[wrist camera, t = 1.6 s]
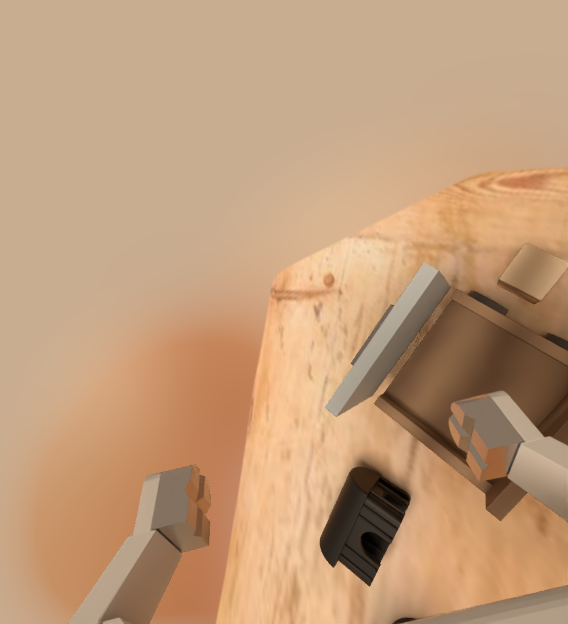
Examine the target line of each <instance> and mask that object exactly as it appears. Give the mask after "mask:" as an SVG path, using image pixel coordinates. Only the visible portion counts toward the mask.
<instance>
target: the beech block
mask: <svg viewBox="0 0 568 624" xmlns="http://www.w3.org/2000/svg"><path fill="white" fill-rule="evenodd" d="M567 268H568V262H567V261H565V260H563V259H560V258H558V257H556V256H554V255H551V254H549V253H547V252H545V251H543V250H540V249H538V248H536V247H534V246H532V245H529V244H527V243H526V244H525V245H524V246H523V248H522V249H521V250H520V252H519V253H518V254H517V255H516V257H515V258H514V259H513V261H512V262H511V263H510V265H509V266H508V267H507V269H506V270H505V271H504V273H503V274H502V275H501V277H500V278H499V280H498V283H497V285H498V286H500V287H502V288H504V289H506V290H508V291H510V292H512V293H514V294H516V295H517V296H519V297H521V298H523V299H525V300H527V301H529V302H531V303H533V304H536V303H537V302H539V301H541V300H542V299H543V298H544V296H545V295H546V294H547V293H548V291H549V290H550V289H551V288H552V286H553V285H554V284H555V283H556V281H557V280H558V279H559V278H560V277H561V275H562V274H563V273H564V272H565V270H566V269H567Z"/></svg>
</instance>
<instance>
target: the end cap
mask: <svg viewBox="0 0 568 624" xmlns="http://www.w3.org/2000/svg"><path fill="white" fill-rule="evenodd" d="M410 499H411V498H410V496H409V495H408V494H407V493H406V492H405V491H403V490H401V489H400V488H398V487H397V486H395V485H394V484H392V483H391V482H389V481H388V480H386V479H385V478H383V477H382V476H381V475H380V474H378V473H377V472H375V471H373V470H370V469H367V468H363V467H356V468H353V469H352V470H351V471H350V473H349V475H348V477H347V479H346V482H345V484H344V486H343V488H342V490H341V493H340V495H339V497H338V499H337V502H336V504H335V506H334V508H333V510H332V513H331V515H330V517H329V519H328V522H327V524H326V526H325V528H324V530H323V533H322V535H321V537H320V548H321V551H322V553H323V555H324V557H325V559H326V560H327V561H328V563H329V564H330V565H331V566H332V567H333V568H334V567H335V565H336V563H337V562H338V560H339V561H340V562H341V563H342V564H343V565H345V566H346V567H347V568H348V569H349V570H350V571H352V572H353V573H354V574H355V575H356V576H358V577H359V578H360V579H361V580H362V581H364V582H365V583H366V584H367V585H368V586H370V585H371V583H372V581H373V579H374V577H375V575H376V573H377V571H378V569H379V567H380V565H381V564H380V562H381V560H382V558H383V556H384V554H385V552H386V550H387V548H388V546H389V544H391V542H392V540H393V538H394V536H395V534H396V532H397V530H398V528H399V526H400V524H401V522H402V520H403V518H404V515H405V511H406V510H407V508H408V506H409V503H410Z"/></svg>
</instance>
